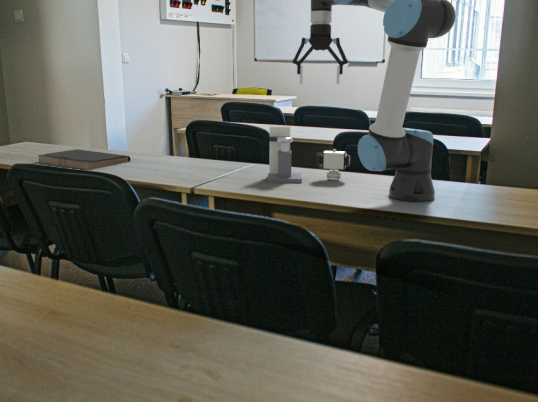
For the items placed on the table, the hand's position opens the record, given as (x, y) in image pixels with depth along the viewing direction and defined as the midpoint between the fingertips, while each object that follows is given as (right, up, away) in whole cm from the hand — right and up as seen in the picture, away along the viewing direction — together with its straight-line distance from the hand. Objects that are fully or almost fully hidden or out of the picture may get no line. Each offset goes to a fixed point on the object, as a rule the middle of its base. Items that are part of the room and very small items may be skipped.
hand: (319, 83), depth 214 cm
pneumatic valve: (+6, -35, +10) cm, 37 cm away
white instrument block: (-14, -30, +9) cm, 34 cm away
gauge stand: (-13, -35, +10) cm, 39 cm away
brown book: (-102, -27, +45) cm, 115 cm away
